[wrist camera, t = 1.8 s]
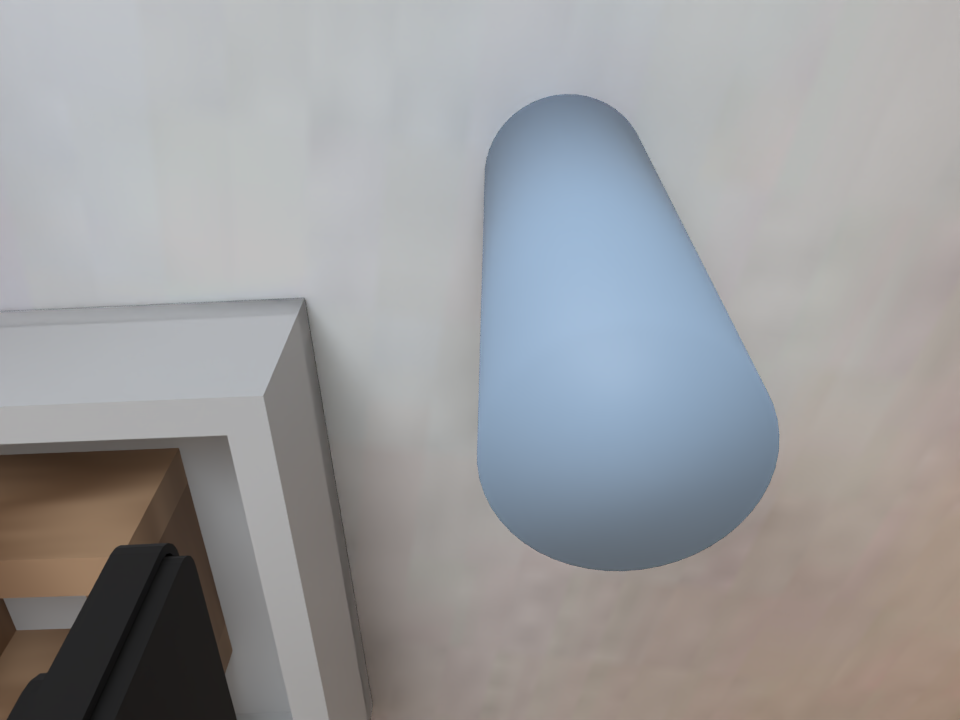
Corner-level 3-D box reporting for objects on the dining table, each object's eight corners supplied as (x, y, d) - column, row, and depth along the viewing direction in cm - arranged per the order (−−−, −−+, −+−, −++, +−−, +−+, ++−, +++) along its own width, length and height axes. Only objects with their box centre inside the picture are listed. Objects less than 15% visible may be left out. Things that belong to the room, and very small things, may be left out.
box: (304, 297, 24) (262, 395, 20) (372, 705, 32) (353, 840, 28) (-273, 324, 25) (-436, 424, 21) (-68, 718, 33) (-154, 851, 28)
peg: (648, 89, 21) (796, 316, 11) (643, 246, 23) (764, 566, 13) (480, 98, 22) (467, 330, 11) (489, 254, 24) (484, 575, 13)
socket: (178, 448, 25) (121, 556, 22) (232, 650, 29) (192, 773, 25) (-98, 458, 26) (-204, 567, 22) (-9, 657, 30) (-85, 780, 26)
